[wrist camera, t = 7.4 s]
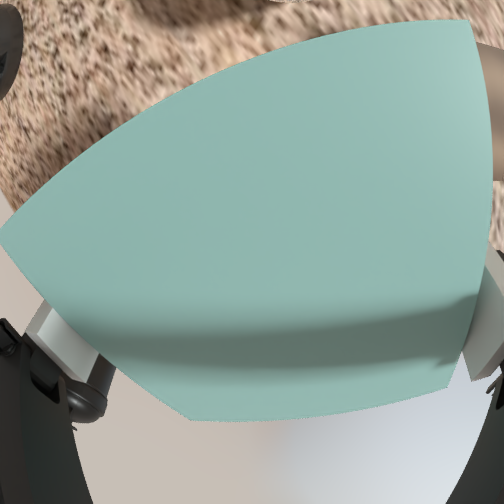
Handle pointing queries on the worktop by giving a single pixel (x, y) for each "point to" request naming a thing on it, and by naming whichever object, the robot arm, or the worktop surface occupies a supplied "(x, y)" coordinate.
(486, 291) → the robot arm
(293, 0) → the lidded jar
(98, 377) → the water bottle
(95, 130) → the worktop surface
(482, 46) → the walnut base
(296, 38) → the worktop surface
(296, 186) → the teal brick
